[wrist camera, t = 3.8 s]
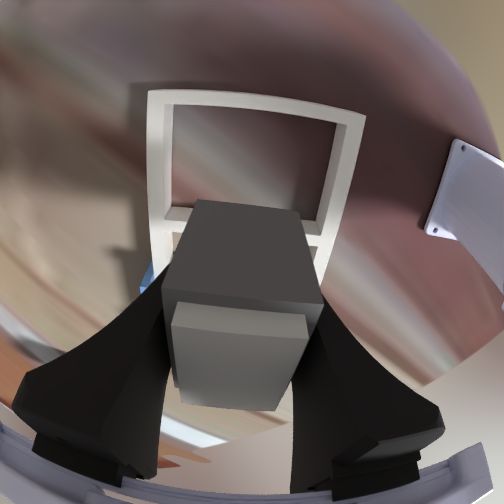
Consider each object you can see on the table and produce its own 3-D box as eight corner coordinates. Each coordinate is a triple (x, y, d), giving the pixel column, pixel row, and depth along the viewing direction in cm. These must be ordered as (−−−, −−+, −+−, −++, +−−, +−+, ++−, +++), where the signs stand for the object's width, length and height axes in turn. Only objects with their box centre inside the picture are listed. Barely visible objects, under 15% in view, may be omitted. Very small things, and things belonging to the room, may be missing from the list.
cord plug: (298, 211, 11) (330, 328, 6) (276, 303, 14) (283, 415, 9) (197, 199, 11) (152, 310, 6) (194, 294, 14) (171, 405, 9)
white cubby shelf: (354, 111, 15) (377, 120, 12) (292, 339, 27) (295, 370, 24) (150, 89, 15) (126, 93, 12) (162, 327, 26) (154, 356, 23)
